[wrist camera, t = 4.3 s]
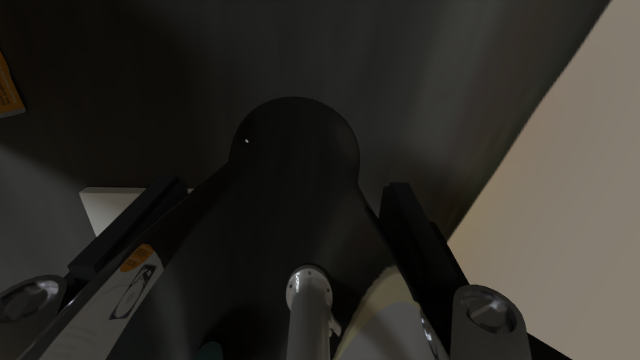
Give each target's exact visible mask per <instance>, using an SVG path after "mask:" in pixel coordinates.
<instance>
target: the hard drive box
mask: <svg viewBox="0 0 640 360" xmlns="http://www.w3.org/2000/svg"><path fill="white" fill-rule="evenodd" d="M25 112H26V109H25V107H24V105H23V103H22V101H21V99H20V96H19V94H18V92H17V90H16V88H15V85H14V83H13V81H12V79H11V76H10V71H9V68H8V65H7V63H6V61H5V59H4V57H3V55H2V53H1V51H0V118H4V117H8V116H13V115H17V114H21V113H25Z"/></svg>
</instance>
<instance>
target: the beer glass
mask: <svg viewBox="0 0 640 360" xmlns="http://www.w3.org/2000/svg"><path fill="white" fill-rule="evenodd" d="M359 171H360V150H359V145H358V141H357V138H356V136H355V134H354V132H353V130H352V128H351V127H350V125H349V124H348V122H347V121H346V120H345V119H344V118H343V117H342V116H341V115H340V114H339V113H338V112H337V111H335V110H334V109H333V108H331V107H329V106H328V105H326V104H324V103H322V102H319V101H317V100H314V99H310V98H305V97H295V96H292V97H281V98H277V99H273V100H270V101H267V102H265V103H263V104H261V105H259V106H258V107H256V108H255V109H253V110H252V111H251V112H250V113H249V114H248V115H247V116H246V117H245V118H244V119H243V120H242V122H241V123H240V125H239V127H238V128H237V130H236V133H235V135H234V137H233V141H232V144H231V148H230V153H229V158H228V161H227V163H226V164H225V165H224V166H223V167H221V168H220V169H219V170H218V171H217V172H216V173H214V174H213V175H212V176H210V177H209V178H208V179H207V180H205V181H204V182H203V183H201V184H200V185H199V186H198V187H196V188H195V189H194V190H192V191H191V192H190V193H189V194H187V195H186V196H185V197H184V198H182V199H181V200H180V201H179V202H177V203H176V204H175V205H174V206H172V207H171V208H170V209H169V210H167V211H166V212H165V213H164V214H162V215H161V216H160V217H159V218H157V219H156V220H155V221H154V222H153V223H151V224H150V225H149V226H148V227H147V228H146V229H145V230H144V231H143V232H141V233H140V234H139V235H138V236H137V237H136V238H135V239H134V240H133V241H132V242H130V243H129V244H128V245H127V246H126V247H125V248H124V249H123V250H122V251H120V252H119V253H118V254H117V255H116V256H115V257H114V258H113V259H112V260H111V261H109V262H108V263H107V264H106V265H105V266H104V267H103V268H102V269H101V270H99V271H98V272H97V273H96V274H95V275H94V276H93V277H92V278H91V279H90V280H89V281H88V282H87V284H86V285H85V286H84V287H83V288H82V289H81V290H80V291H79V292H78V293H77V294H76V295H75V296H74V297H73V299H72V300H71V301H70V302H69V303H68V304H67V305H66V306H65V307H64V308H63V309H62V310H61V311H60V312H59V314H58V315H57V316H56V317H55V318H54V319H53V320H52V321H51V322H50V323H49V324H48V325H47V326H46V327H45V329H44V330H43V331H42V332H41V333H40V334H39V335H38V336H37V337H36V338H35V339H34V340H33V341H32V343H31V344H30V345H29V346H28V347H27V348H26V349H25V350H24V351H23V352H22V353H21V354H20V355H19V356H18V358H17V359H16V360H450V358H449V355H448V353H447V351H446V348H445V346H444V343H443V341H442V338H441V336H440V334H439V331H438V329H437V326H436V324H435V322H434V319H433V317H432V315H431V313H430V311H429V310H428V308H427V306H426V304H425V302H424V300H423V298H422V296H421V294H420V292H419V290H418V288H417V286H416V284H415V283H414V281H413V279H412V277H411V275H410V273H409V271H408V269H407V267H406V265H405V263H404V261H403V259H402V258H401V256H400V254H399V253H398V251H397V249H396V248H395V246H394V244H393V243H392V241H391V239H390V238H389V236H388V234H387V233H386V231H385V229H384V228H383V226H382V224H381V223H380V221H379V219H378V218H377V216H376V214H375V213H374V211H373V210H372V208H371V206H370V205H369V203H368V202H367V200H366V198H365V197H364V195H363V193H362V191H361V189H360V187H359V185H358V178H359Z"/></svg>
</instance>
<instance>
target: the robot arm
mask: <svg viewBox="0 0 640 360" xmlns="http://www.w3.org/2000/svg"><path fill="white" fill-rule="evenodd" d="M187 194H189V193H188V189H187V185H186V183H185V181H181V179H180V178H179V177H178V176H159V177H157V178H156V179H155V180H154V181H153V182H152V183H151V184H150V185H149V186H148V187H147V188H146V189H145V190H144V191H143V192H142V193H141V194H140V195H139V196H138V197H137V198H136V199H135V200H134V201H133V202H132V203H131V204H130V205H129V206H128V207H127V208H126V209H125V210H124V211H123V212H122V213H121V214H120V215H119V216H118V217H117V218H116V219H115V220H114V221H113V222H112V223H111V224H110V225H109V226H107V227H106V228H105V229H104V230H103V231H102V232H101V233H100V234H99V235H98V236H97V237H96V238H95V239H94V240H93V241H92V242H91V243H90V244H89V245H88V246H87V247H86V248H85V249H84V250H83V251H82V252H81V253H80V254H79V255H78V256H77V257H76V258H75V259H74V260H73V261H72V262H71V263H70V264H69V265H68V266H67V267H68V268H69V270H70V272H69V273H68V274H67V275H66V276H65V277H64V278H62V277H60V276H58V275H44V276H37V277H34V278H31V279H28V280H24V281H22V282H20V283H18V284H16V285H13V286H11V287H10V288H8V289H6V290H5V291H3V292H2V293H0V360H16V359H17V358H18V356H19V355H20V354H21V353H22V352H23V351H24V350H25V349H26V348H27V347H28V346H29V345H30V344H31V343H32V341H33V340H34V339H35V338H36V337H37V336H38V335H39V334H40V333H41V332H42V331H43V330H44V329H45V327H46V326H47V325H48V324H49V323H50V322H51V321H52V320H53V319H54V318H55V317H56V316H57V315H58V314H59V312H60V311H61V310H62V309H63V308H64V307H65V306H66V305H67V304H68V303H69V302H70V301H71V300H72V299H73V297H74V296H75V295H76V294H77V293H78V292H79V291H80V290H81V289H82V288H83V287H84V286H85V285H86V284H87V282H88V281H89V280H90V279H91V278H92V277H93V276H94V275H95V274H96V273H97V272H98V271H99V270H101V269H102V268H103V267H104V266H105V265H106V264H107V263H108V262H109V261H111V260H112V259H113V258H114V257H115V256H116V255H117V254H118V253H119V252H120V251H122V250H123V249H124V248H125V247H126V246H127V245H128V244H129V243H130V242H132V241H133V240H134V239H135V238H136V237H137V236H138V235H139V234H140V233H141V232H143V231H144V230H145V229H146V228H147V227H148V226H149V225H150V224H151V223H153V222H154V221H155V220H156V219H157V218H159V217H160V216H161V215H162V214H164V213H165V212H166V211H167V210H169V209H170V208H171V207H172V206H174V205H175V204H176V203H177V202H179V201H180V200H181V199H182V198H184V197H185V196H186V195H187ZM379 221H380V223H381V224H382V226H383V228H384V229H385V231H386V233H387V234H388V236H389V238H390V239H391V241H392V243H393V244H394V246H395V248H396V249H397V251H398V253H399V254H400V256H401V258H402V259H403V261H404V263H405V265H406V267H407V269H408V271H409V273H410V275H411V277H412V279H413V281H414V283H415V284H416V286H417V288H418V290H419V292H420V294H421V296H422V298H423V300H424V302H425V304H426V306H427V308H428V310H429V311H430V313H431V315H432V317H433V319H434V322H435V324H436V326H437V329H438V331H439V334H440V336H441V338H442V341H443V343H444V346H445V348H446V351H447V353H448V355H449V358H450V360H572V359H570V358H569V357H567V356H565V355H563V354H562V353H560V352H558V351H557V350H555V349H554V348H552V347H550V346H549V345H547V344H545V343H544V342H542V341H540V340H539V339H537V338H535V337H534V336H532V335H530V334H529V333H527V331H526V325H525V322H524V319H523V316H522V314H521V312H520V311H519V310H518V308H517V307H516V306H515V305H514V304H513V303H512V302H511V301H510V300H509V299H508V298H506V297H505V296H504V295H502V294H500V293H499V292H497V291H495V290H493V289H490V288H488V287H485V286H480V285H470V284H469V282H468V281H467V279H466V277H465V275H464V273H463V272H462V270H461V268H460V266H459V264H458V263H457V261H456V259H455V257H454V255H453V254H452V252H451V250H450V248H449V247H448V245H447V243H446V241H445V239H444V237H443V236H442V234H441V232H440V230H439V228H438V227H437V225H436V224H435V223H434V222H429V221H428V219H427V217H426V215H425V214H424V212H423V210H422V208H421V206H420V204H419V202H418V200H417V198H416V196H415V195H414V193H413V191H412V189H411V187H410V185H409V184H408V183H397V182H391V183H390V185H389V186H385V187H384V189H383V194H382V200H381V206H380V212H379Z"/></svg>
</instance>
